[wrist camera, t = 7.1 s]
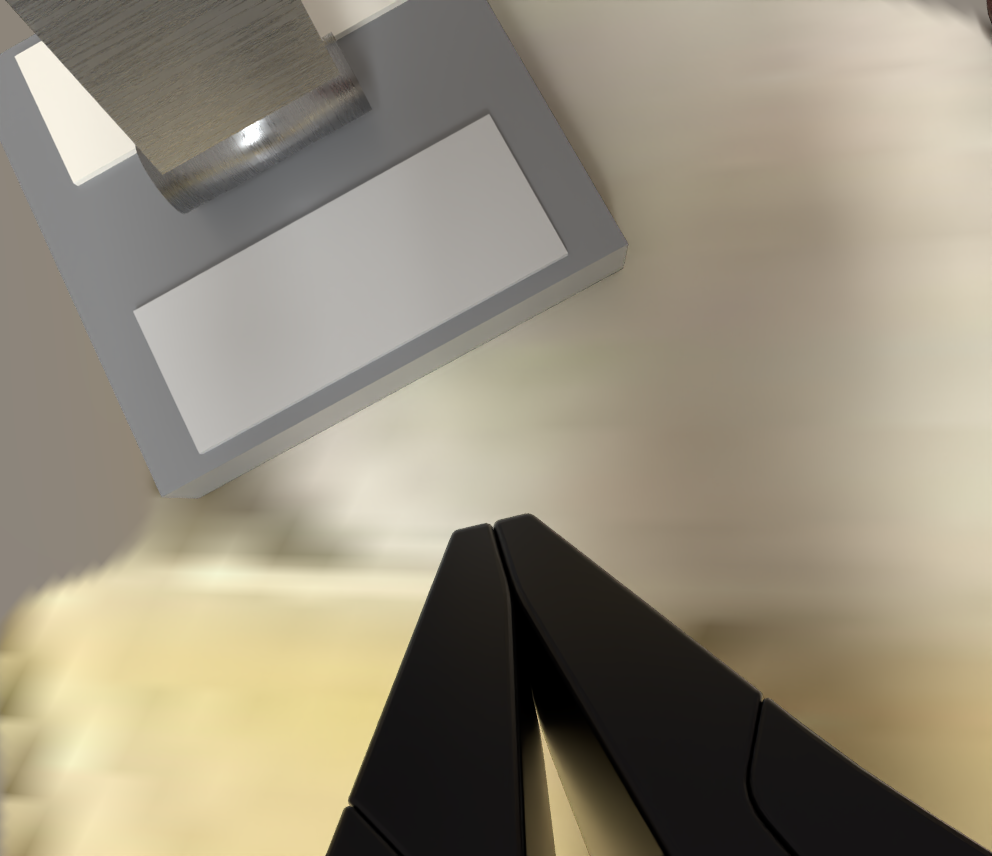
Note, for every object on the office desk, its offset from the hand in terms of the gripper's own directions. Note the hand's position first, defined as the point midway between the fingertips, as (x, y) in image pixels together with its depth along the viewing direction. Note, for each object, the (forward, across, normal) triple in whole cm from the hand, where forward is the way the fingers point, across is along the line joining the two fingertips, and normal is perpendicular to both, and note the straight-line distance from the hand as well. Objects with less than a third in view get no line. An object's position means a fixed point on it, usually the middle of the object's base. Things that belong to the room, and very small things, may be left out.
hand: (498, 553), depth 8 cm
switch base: (+18, +3, -1) cm, 18 cm away
